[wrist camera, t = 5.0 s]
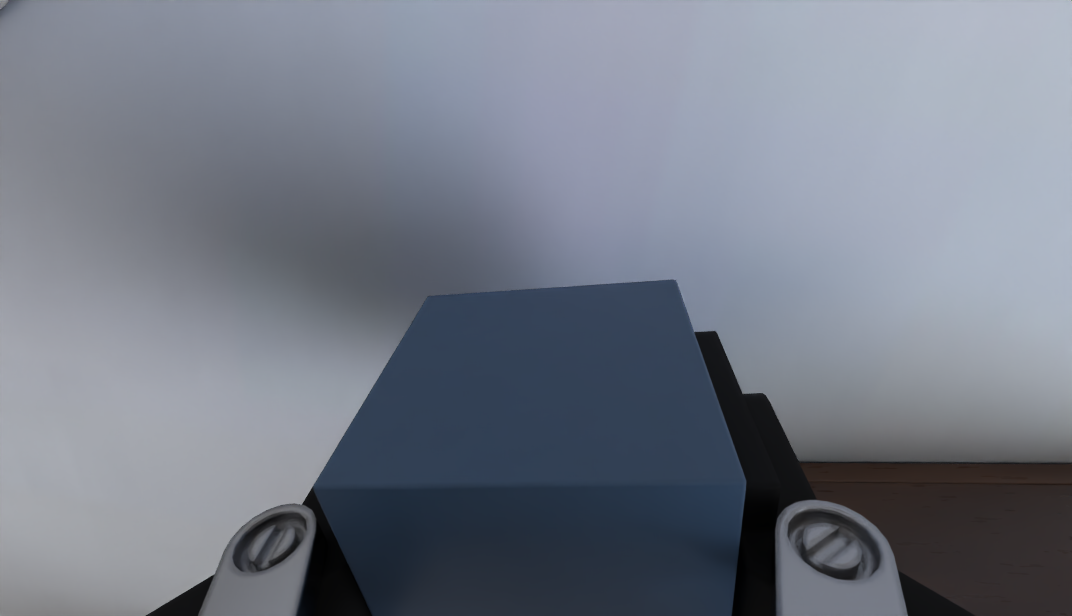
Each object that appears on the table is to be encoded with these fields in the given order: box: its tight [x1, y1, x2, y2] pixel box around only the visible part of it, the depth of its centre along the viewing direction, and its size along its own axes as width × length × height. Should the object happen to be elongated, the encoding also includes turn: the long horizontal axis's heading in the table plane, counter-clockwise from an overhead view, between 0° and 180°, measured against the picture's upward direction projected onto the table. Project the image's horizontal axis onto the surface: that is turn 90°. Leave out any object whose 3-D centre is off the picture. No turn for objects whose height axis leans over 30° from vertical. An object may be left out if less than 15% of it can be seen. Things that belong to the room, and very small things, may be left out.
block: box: [313, 280, 746, 616], centre depth 9 cm, size 5×5×5 cm
